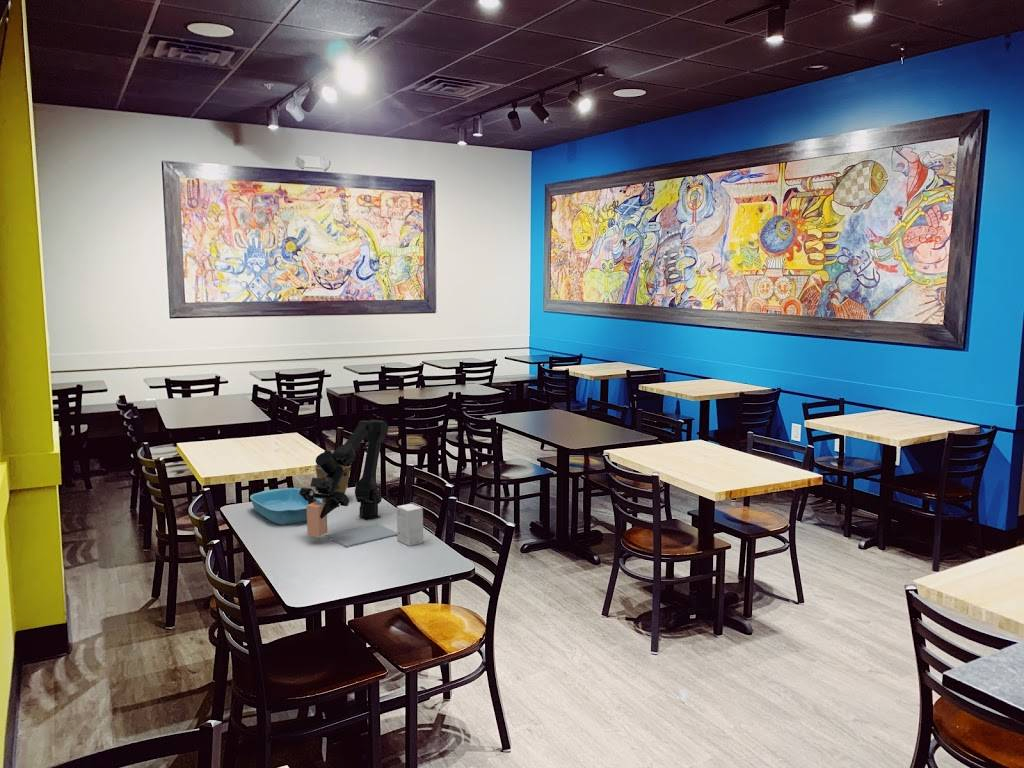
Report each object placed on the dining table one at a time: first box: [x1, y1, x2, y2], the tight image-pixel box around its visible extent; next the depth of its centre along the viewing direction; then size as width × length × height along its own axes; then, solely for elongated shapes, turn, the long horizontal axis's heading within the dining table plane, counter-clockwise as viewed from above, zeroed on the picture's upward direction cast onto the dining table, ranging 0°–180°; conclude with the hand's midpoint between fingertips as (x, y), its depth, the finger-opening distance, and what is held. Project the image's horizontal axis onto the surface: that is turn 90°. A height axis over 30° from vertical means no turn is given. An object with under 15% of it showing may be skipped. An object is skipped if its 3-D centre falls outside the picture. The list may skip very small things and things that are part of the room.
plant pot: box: [314, 464, 352, 503], centre depth 334 cm, size 15×15×16 cm
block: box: [306, 502, 328, 538], centre depth 281 cm, size 5×5×11 cm
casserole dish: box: [249, 487, 323, 525], centre depth 315 cm, size 37×22×7 cm, turn 37°
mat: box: [324, 523, 397, 548], centre depth 289 cm, size 22×16×1 cm
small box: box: [396, 503, 424, 547], centre depth 282 cm, size 8×6×13 cm
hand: (314, 517), depth 279 cm, fingers closed on block, 5 cm apart
